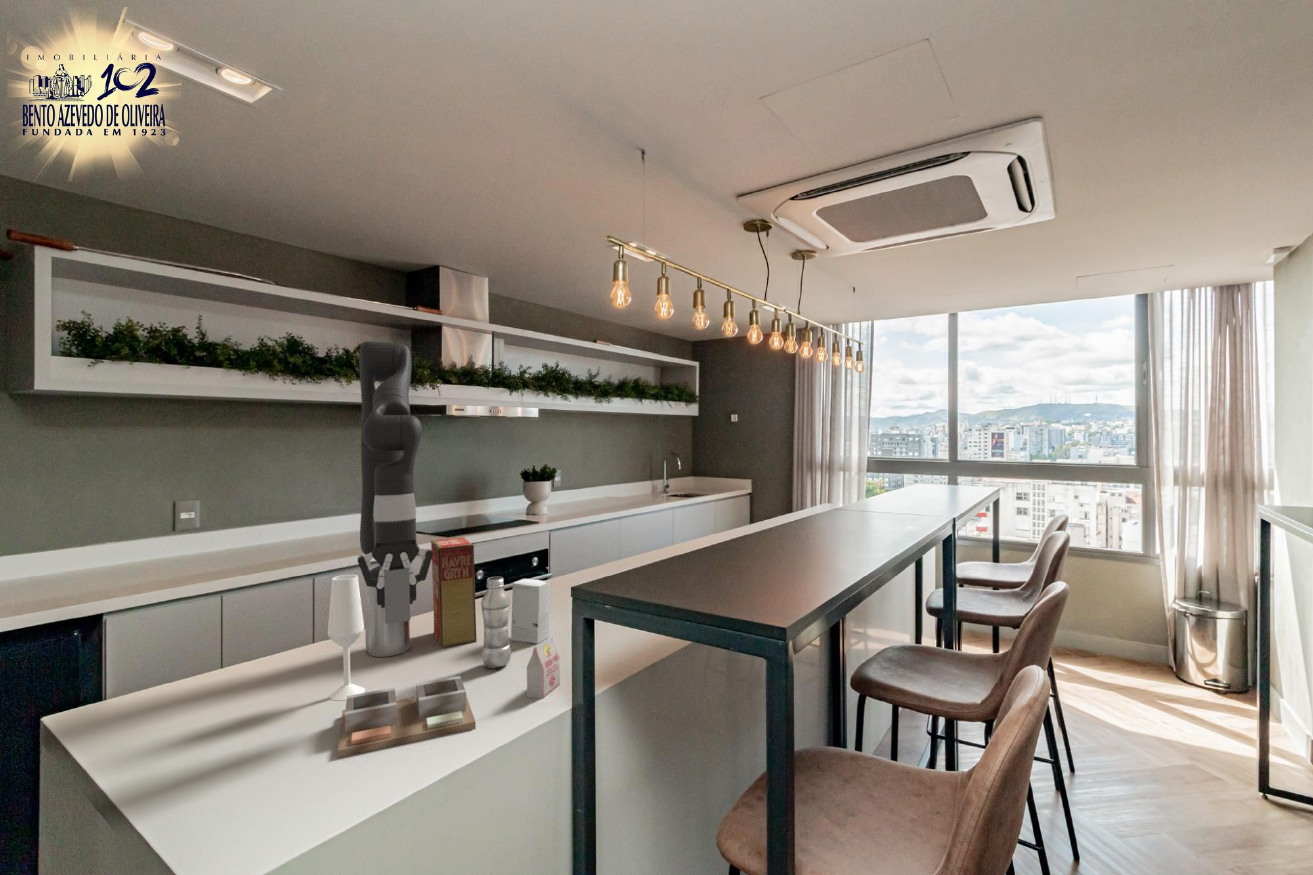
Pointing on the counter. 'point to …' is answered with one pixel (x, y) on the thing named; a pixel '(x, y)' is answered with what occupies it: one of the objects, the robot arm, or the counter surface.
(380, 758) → the counter surface
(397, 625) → the robot arm
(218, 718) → the counter surface
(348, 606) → the champagne flute
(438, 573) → the food packaging
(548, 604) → the skincare box
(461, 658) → the counter surface
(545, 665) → the small milk carton
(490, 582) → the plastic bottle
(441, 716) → the socket board
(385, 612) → the plug
